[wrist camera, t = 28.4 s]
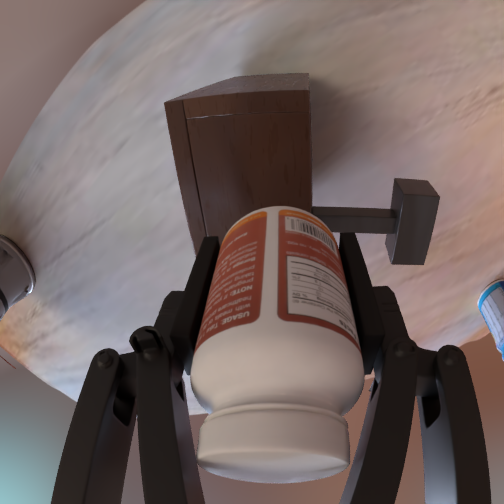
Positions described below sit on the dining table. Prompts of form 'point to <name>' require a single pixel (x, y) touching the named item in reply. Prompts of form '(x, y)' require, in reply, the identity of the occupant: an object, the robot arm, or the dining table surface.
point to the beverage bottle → (494, 311)
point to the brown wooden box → (274, 165)
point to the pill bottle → (277, 353)
